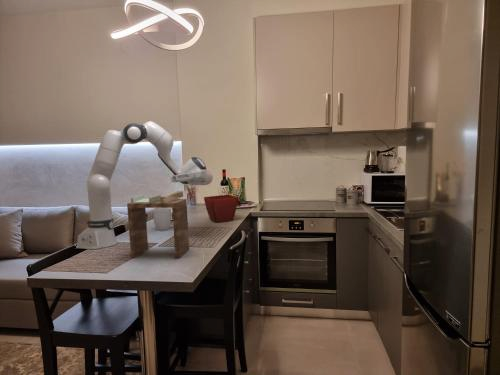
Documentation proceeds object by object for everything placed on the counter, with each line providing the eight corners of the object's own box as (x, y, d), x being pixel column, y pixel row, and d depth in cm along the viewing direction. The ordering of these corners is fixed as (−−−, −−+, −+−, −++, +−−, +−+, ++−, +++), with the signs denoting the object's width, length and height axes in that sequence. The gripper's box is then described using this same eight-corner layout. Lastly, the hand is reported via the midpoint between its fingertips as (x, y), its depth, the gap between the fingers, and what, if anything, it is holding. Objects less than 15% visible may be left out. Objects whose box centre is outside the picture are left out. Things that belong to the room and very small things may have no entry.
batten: (160, 203, 159) (160, 196, 159) (177, 196, 181) (177, 191, 181) (166, 203, 159) (166, 196, 159) (183, 196, 181) (183, 190, 180)
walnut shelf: (131, 257, 165) (127, 203, 162) (144, 249, 179) (141, 199, 176) (179, 258, 161) (176, 203, 158) (189, 249, 175) (186, 198, 172)
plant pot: (204, 219, 250) (203, 196, 248) (229, 216, 258) (228, 194, 256) (213, 224, 233) (211, 199, 231) (239, 221, 241) (238, 197, 239)
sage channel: (131, 203, 164) (130, 198, 164) (141, 199, 175) (141, 194, 174) (151, 202, 162) (150, 197, 162) (160, 199, 173) (160, 194, 173)
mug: (172, 225, 234) (171, 206, 232) (180, 228, 225) (179, 208, 224) (151, 229, 224) (150, 209, 223) (158, 232, 216) (157, 211, 214)
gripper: (178, 174, 203) (163, 173, 190) (208, 169, 195) (195, 167, 182) (179, 185, 203) (164, 184, 190) (210, 180, 194) (196, 179, 182)
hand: (180, 176), depth 186 cm, fingers open, 8 cm apart
